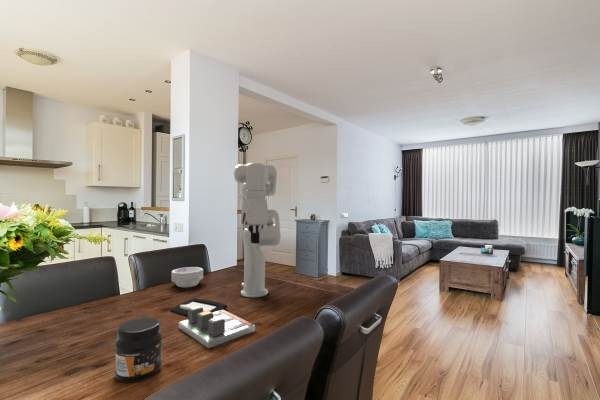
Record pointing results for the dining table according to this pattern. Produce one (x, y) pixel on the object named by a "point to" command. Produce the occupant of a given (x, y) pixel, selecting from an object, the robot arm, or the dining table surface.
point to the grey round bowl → (187, 276)
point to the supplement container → (138, 349)
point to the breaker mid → (204, 319)
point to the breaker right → (216, 326)
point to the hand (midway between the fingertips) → (255, 242)
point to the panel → (232, 330)
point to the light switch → (205, 304)
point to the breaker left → (194, 313)
